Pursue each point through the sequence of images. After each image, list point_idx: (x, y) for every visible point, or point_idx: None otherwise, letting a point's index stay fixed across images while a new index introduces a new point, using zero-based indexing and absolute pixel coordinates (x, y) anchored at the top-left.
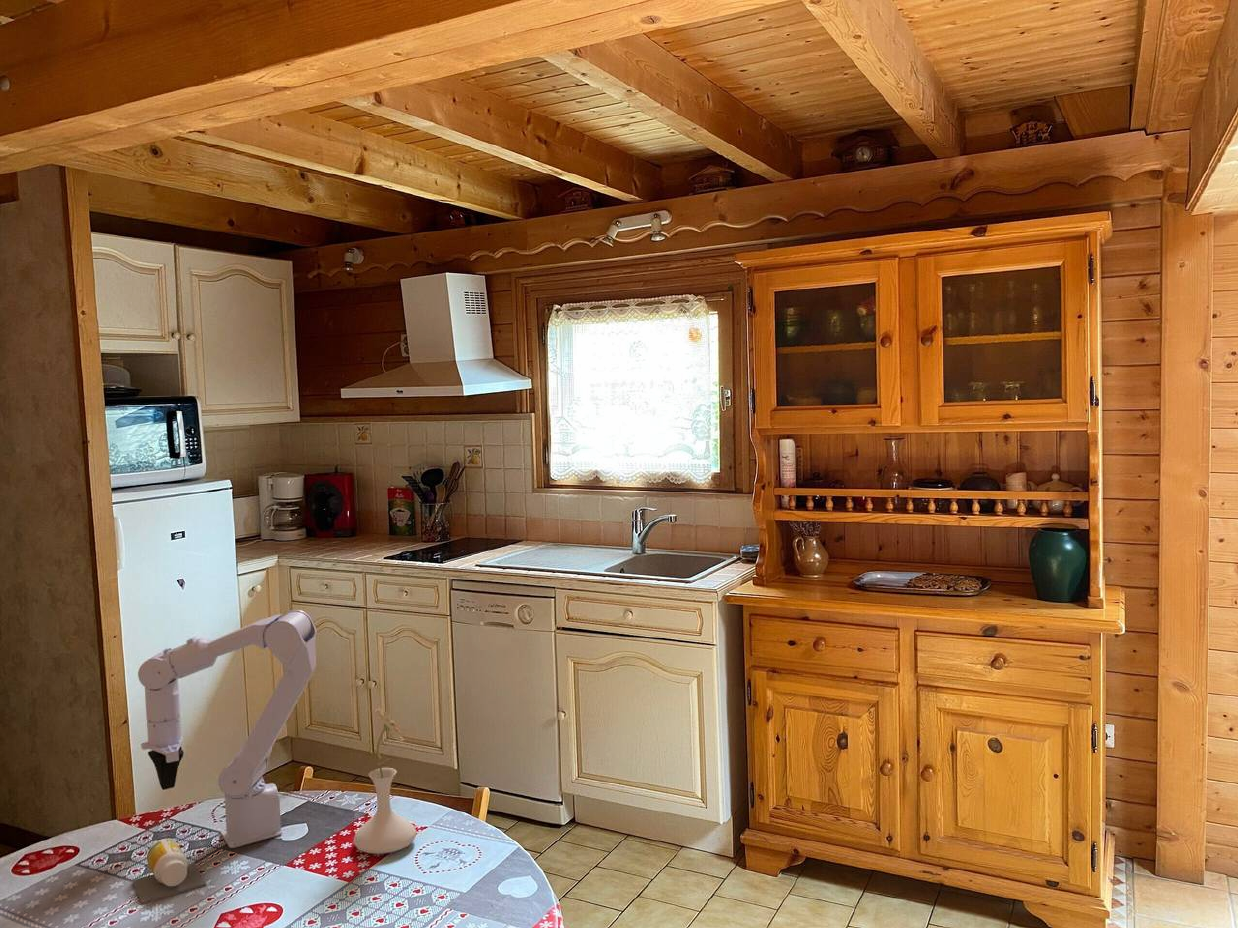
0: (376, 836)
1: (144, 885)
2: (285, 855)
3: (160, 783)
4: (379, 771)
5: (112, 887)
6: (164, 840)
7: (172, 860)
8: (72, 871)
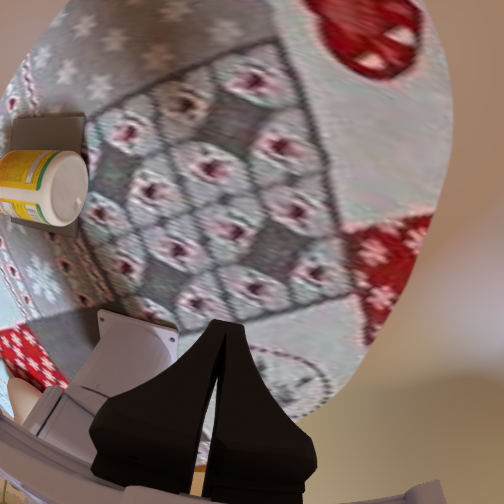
0: (9, 394)
1: (51, 132)
2: (48, 339)
3: (205, 331)
4: None
5: (95, 77)
6: (38, 199)
7: None
8: (244, 22)
